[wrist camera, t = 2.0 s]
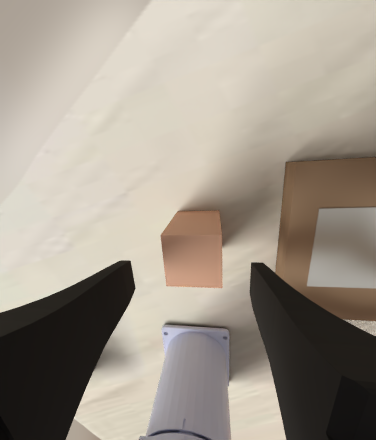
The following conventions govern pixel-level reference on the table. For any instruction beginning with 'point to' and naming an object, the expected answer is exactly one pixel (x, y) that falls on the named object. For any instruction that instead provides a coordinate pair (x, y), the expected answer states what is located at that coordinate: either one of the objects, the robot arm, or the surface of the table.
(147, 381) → the table surface
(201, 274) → the terracotta block
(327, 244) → the base board
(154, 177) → the table surface
